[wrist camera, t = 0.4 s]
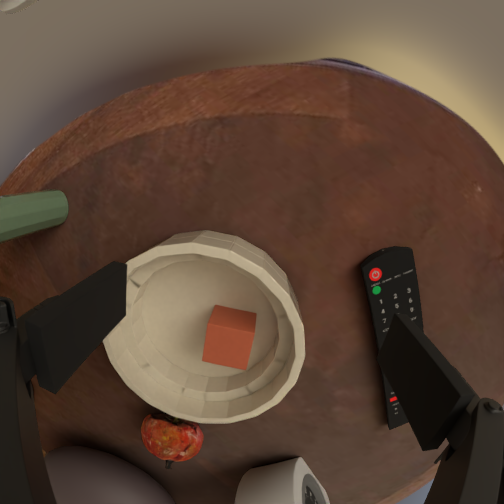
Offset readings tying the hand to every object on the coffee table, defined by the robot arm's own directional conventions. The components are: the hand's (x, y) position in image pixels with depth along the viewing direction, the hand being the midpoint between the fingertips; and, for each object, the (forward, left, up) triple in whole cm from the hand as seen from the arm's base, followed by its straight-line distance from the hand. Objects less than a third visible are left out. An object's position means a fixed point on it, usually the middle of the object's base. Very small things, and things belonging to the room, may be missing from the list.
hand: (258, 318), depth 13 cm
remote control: (+8, +17, -14) cm, 24 cm away
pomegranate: (+23, -6, -14) cm, 28 cm away
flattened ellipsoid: (+44, -16, -14) cm, 49 cm away
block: (+8, -1, -13) cm, 16 cm away
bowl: (+8, -4, -14) cm, 17 cm away
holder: (0, -23, -14) cm, 27 cm away
